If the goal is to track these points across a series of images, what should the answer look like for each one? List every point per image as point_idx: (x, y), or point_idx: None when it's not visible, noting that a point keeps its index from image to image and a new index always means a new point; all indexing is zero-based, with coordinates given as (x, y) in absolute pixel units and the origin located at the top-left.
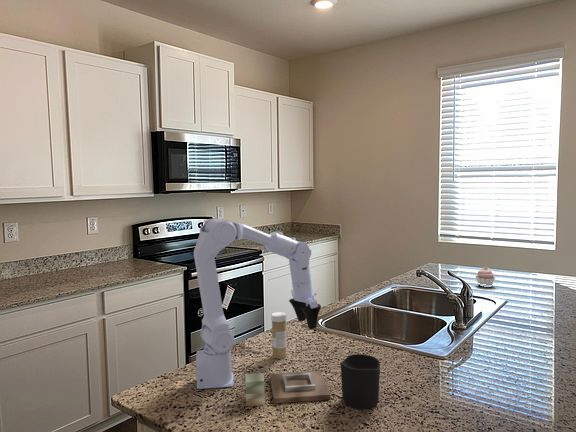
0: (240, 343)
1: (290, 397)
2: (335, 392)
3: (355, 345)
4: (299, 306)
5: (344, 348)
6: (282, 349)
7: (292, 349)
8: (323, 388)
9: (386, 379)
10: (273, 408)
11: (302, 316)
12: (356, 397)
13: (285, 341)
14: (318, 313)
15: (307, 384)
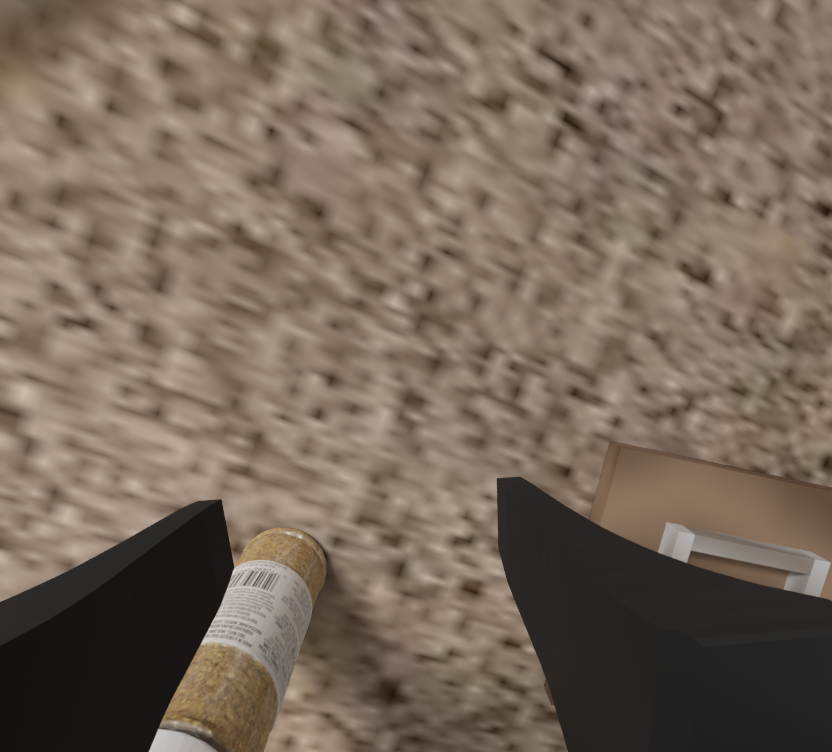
0: None
1: None
2: (816, 445)
3: (269, 31)
4: (100, 729)
5: (296, 133)
6: (312, 591)
7: (202, 460)
8: (821, 511)
9: (809, 118)
10: None
11: (203, 564)
12: None
13: (286, 596)
14: (668, 558)
15: (743, 568)
